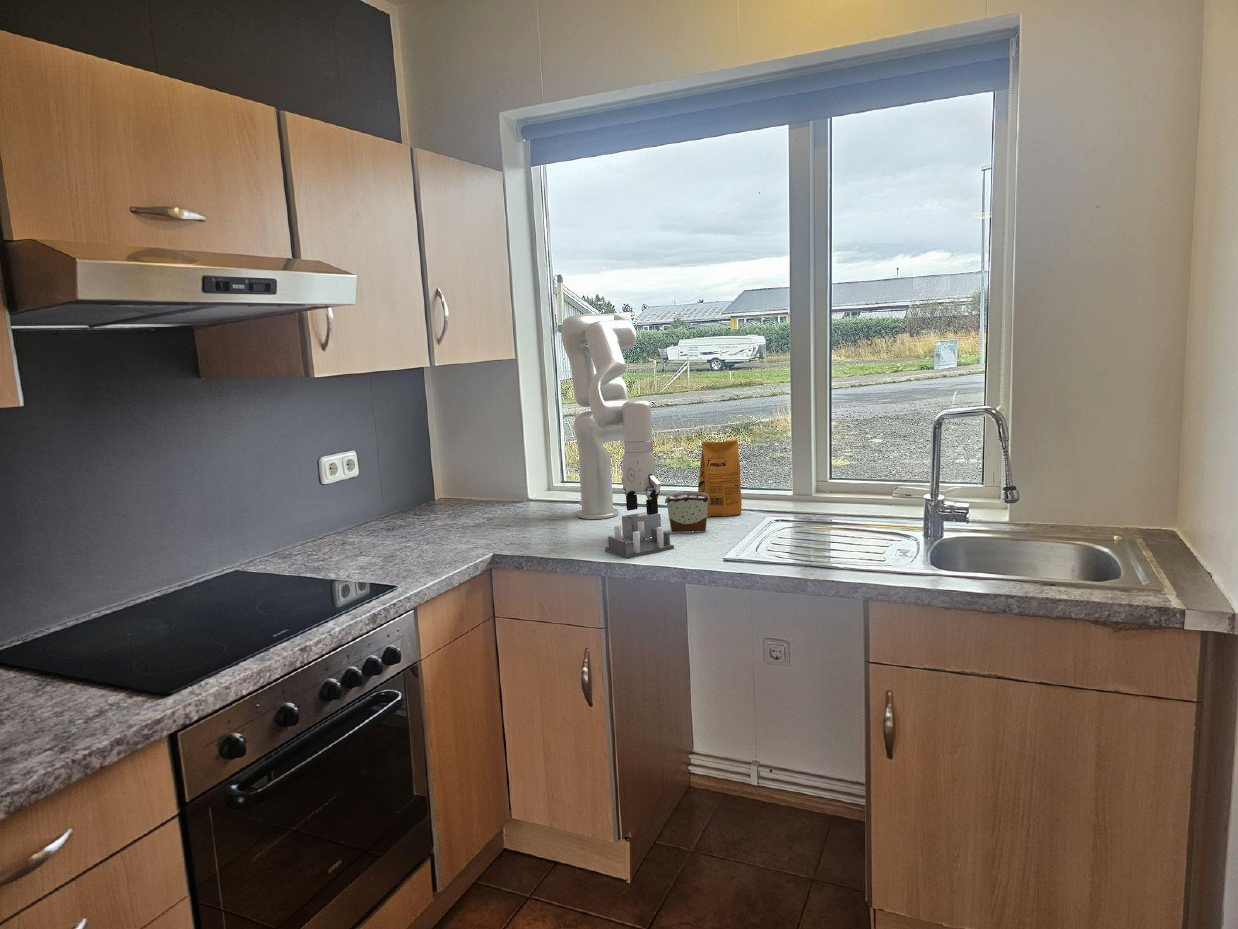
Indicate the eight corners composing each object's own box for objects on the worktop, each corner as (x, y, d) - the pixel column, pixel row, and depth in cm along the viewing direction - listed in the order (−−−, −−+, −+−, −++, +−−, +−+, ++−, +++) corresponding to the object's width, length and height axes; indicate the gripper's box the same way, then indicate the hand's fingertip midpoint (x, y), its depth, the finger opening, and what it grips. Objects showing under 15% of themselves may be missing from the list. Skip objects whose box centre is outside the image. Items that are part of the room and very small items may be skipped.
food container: (711, 526, 223) (710, 491, 222) (711, 531, 217) (710, 495, 216) (666, 527, 224) (665, 492, 223) (665, 532, 218) (664, 496, 217)
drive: (622, 538, 215) (621, 515, 214) (651, 532, 220) (650, 510, 219) (632, 541, 211) (631, 518, 210) (661, 536, 215) (660, 513, 214)
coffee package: (697, 511, 244) (695, 439, 241) (738, 509, 244) (736, 437, 241) (701, 518, 234) (698, 443, 231) (743, 516, 234) (742, 441, 231)
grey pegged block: (605, 550, 202) (603, 527, 202) (651, 541, 210) (650, 519, 209) (626, 558, 194) (625, 535, 193) (674, 548, 201) (673, 525, 200)
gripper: (609, 447, 217) (613, 510, 219) (644, 450, 202) (648, 518, 204) (632, 444, 221) (636, 506, 223) (669, 447, 206) (672, 513, 208)
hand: (642, 511), depth 213 cm, fingers open, 9 cm apart
